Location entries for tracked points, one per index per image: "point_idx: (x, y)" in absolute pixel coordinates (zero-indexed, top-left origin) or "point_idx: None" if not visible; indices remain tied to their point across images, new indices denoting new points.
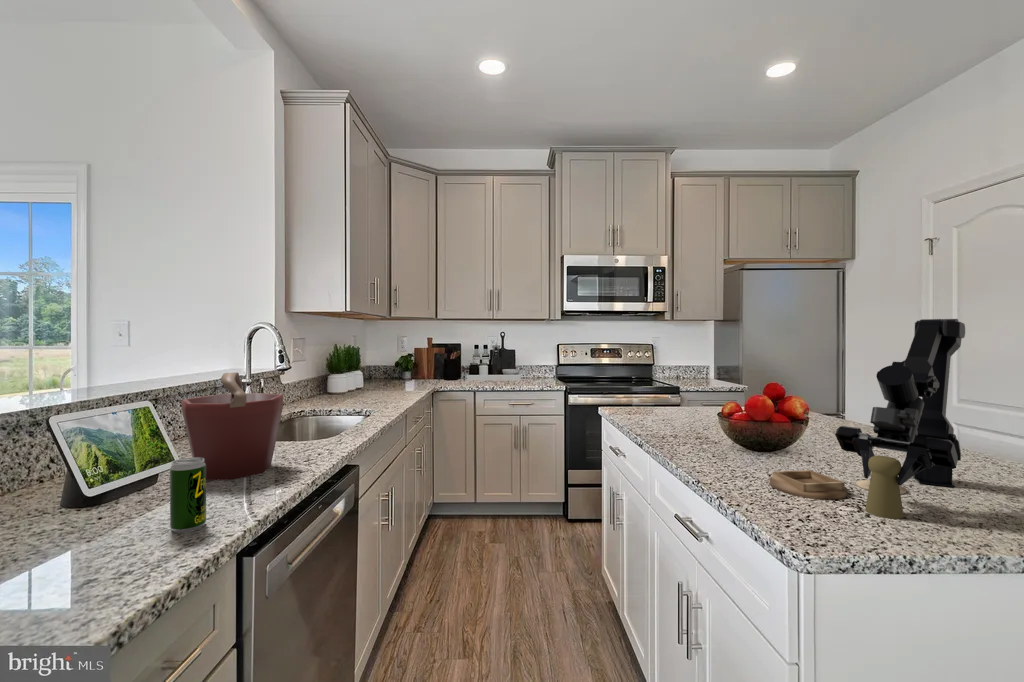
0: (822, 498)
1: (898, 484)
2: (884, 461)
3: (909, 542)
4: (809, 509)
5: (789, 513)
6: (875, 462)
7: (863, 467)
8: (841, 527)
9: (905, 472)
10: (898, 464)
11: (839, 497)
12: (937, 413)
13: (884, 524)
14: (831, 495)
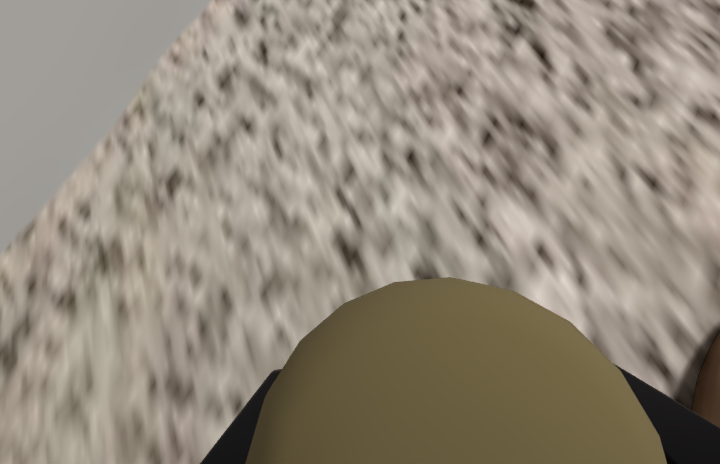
0: (717, 343)
1: None
2: (376, 307)
3: (207, 125)
4: (604, 131)
5: (595, 22)
6: (478, 284)
7: (629, 373)
8: (405, 58)
9: (209, 457)
10: (250, 460)
11: None
12: None
13: (335, 235)
14: (714, 393)
